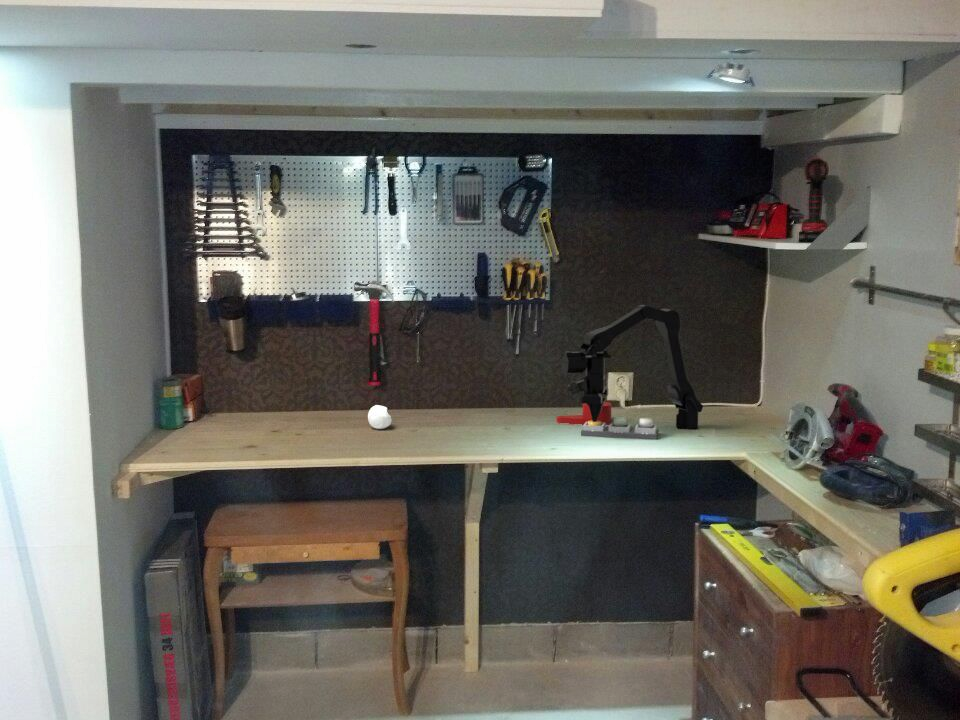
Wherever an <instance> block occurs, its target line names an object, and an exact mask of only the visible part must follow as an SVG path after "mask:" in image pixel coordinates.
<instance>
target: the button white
mask: <svg viewBox="0 0 960 720" xmlns="http://www.w3.org/2000/svg"><path fill="white" fill-rule="evenodd" d="M638 424H639V426H642V427H651V426H653V425H654V422H653V418H649V417H641V418H639V423H638Z"/></svg>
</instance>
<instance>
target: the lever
mask: <svg viewBox="0 0 960 720" xmlns="http://www.w3.org/2000/svg"><path fill="white" fill-rule="evenodd" d="M591 420H592V416H591V412H590V408H589V406H588V405H587V404H586V403H582V414H575V415H558V416H556V423H557V422H558V423H557V424H560V423H569V424H568V425H574V424H582V425H581V426H583V425H584V424H585V422H588V421H591ZM597 421H601V422H604V423H606V426H608V425H609V426H610V424H611V423H612V403H610V402H608V401H605V402H604V404H603V407H602V409H601V412H600V414H599V416H598V419H597Z"/></svg>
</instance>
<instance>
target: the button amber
mask: <svg viewBox="0 0 960 720" xmlns="http://www.w3.org/2000/svg"><path fill="white" fill-rule="evenodd" d="M588 425H593V426H601V421H596V422H593V421H592V420H591V421H588Z"/></svg>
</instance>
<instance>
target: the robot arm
mask: <svg viewBox="0 0 960 720" xmlns="http://www.w3.org/2000/svg"><path fill="white" fill-rule="evenodd" d="M645 319H647V320H649V321H652V322H653V321H654V323H655V325H656V328H657V329H658V332H659V333H660V336H662V337H663V342H664V346H665V352H666V356H667V360H668V366H669V370H670V375H671V384H670V385H667V386H666V388H667V391H668V399H670V401H671V402H672V403H673V404H674V407H675V409H678V412H677V413H676V417H675V423H676V424H675V427H676V429H678V430H686V431H687V430H689V431H691V430H693V431H698V430H699V413H702V411H703V409H704V405H703V404H702V403H701V402H700V401H699V400H698V398H697V395H696V392H695V389H694V387H693V385H692V383H691V382H690V380H689V379H688V377H687V372H686V368H685V363H684V362H685V361H684V357H683V352H682V346H681V342H680V337H679V335H680V331H681V327H682V326H681V315H680V313H679V312H678V311H676V310H674V309H670V308H669V309H668V308H661V309H660V308H655V307H652V306H650V305H646V304H640V305H638V306H636V307H635V308H634V309H632V310H631V311H630V312H628V313H626V314H624V315H622V316H621V317H619V318H618V319H617V320H615V321H613V322H612V323H610V324H609V325H607V326H604V327H599V328H596V329H594V330H591V331H589V332H587V333H586V334H585V335H584V339H583V342H582V343H581V344H580V346H579V348H578V349H577V351H564V353H563V354H564V355H563V356H562V359H561V370H562V372H563V374H566V375H567V374H568V375H569V374H583V373H584V372H585V376H584V377H583V379H582V380H578V381H576V380H573V381H571V382H569V383H568V385H567V392H568V393H569V396H574V395H575V394H578V393H581V392H583V394H582V395H581V396H580V404H583V403H586V404H587V405H588V406H589V408H590V412H591V416H592V421H593V422H596V421H597V419H598V416H599V414H600V412H601V409H602V407H603V404H604V402H606V398H605V397H603V395H605V396H608V395H609V388H608V387H607V386H606V385H605V379H606V374H605V367H606V364H605V362H606V360H605V359H611V358H612V355H611V354H610V353H608V351H607V350H606V349H607V348H608V347H609V346H610V345H612V343H613V342H614V340H615V339H616V338H617V337H619V336H620V335H622V334H623V333H625V332H627V331H628V330H630V329H632V328H633V327H635V326H637V325H638V324H639V323H641V322H643V321H644V320H645Z"/></svg>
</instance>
